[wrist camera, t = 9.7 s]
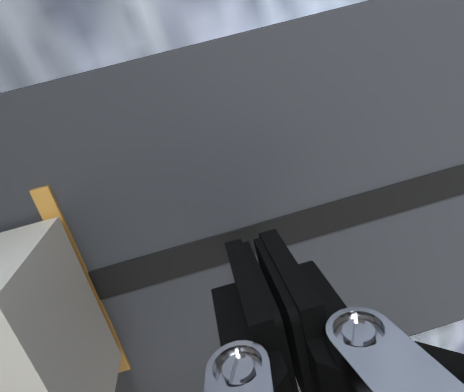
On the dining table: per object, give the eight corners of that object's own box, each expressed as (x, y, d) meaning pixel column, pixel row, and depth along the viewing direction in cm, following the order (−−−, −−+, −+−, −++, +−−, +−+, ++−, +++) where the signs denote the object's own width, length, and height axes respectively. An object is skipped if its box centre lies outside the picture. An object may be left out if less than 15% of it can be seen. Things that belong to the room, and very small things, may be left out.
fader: (-35, 242, 12) (-154, 341, 7) (58, 216, 12) (-6, 298, 8) (43, 378, 14) (-14, 515, 9) (121, 355, 14) (98, 479, 10)
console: (-131, 130, 13) (-220, 148, 10) (477, -24, 15) (555, -47, 12) (34, 402, 18) (6, 467, 15) (475, 266, 20) (528, 301, 17)
